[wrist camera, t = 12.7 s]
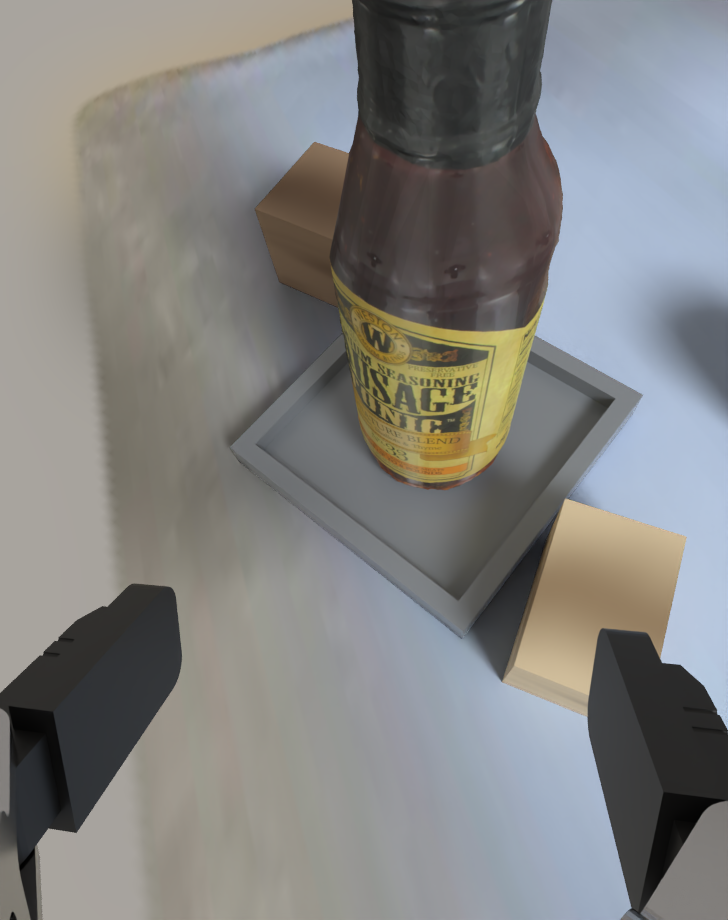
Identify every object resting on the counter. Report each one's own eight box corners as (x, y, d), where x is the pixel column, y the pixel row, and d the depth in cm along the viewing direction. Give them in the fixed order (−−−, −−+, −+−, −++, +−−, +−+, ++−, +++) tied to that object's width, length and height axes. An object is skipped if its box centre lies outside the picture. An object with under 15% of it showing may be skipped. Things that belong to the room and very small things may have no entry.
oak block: (545, 539, 26) (565, 498, 22) (646, 573, 25) (686, 536, 21) (501, 682, 23) (514, 665, 19) (610, 726, 22) (646, 718, 18)
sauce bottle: (337, 450, 28) (145, -108, 10) (419, 353, 29) (380, -268, 12) (460, 532, 25) (496, -8, 8) (541, 421, 27) (724, -226, 9)
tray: (409, 286, 32) (408, 266, 31) (633, 412, 27) (643, 395, 26) (239, 462, 29) (229, 447, 27) (461, 639, 24) (463, 631, 23)
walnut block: (330, 221, 35) (314, 141, 30) (407, 250, 33) (402, 171, 29) (279, 283, 33) (254, 208, 29) (357, 316, 32) (343, 244, 27)
